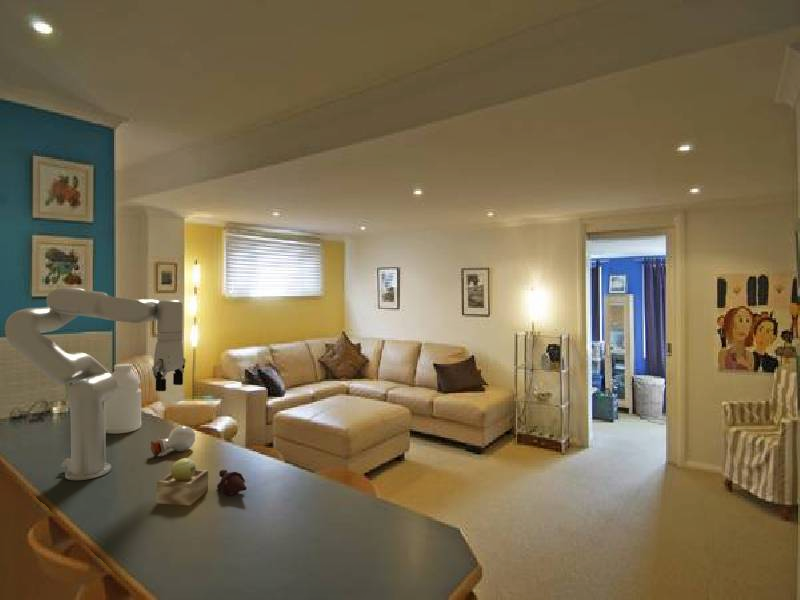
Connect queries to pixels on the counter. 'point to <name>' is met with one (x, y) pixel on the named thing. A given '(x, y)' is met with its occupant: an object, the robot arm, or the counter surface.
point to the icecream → (231, 483)
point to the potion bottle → (174, 441)
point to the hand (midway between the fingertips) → (169, 387)
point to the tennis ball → (183, 470)
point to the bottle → (124, 402)
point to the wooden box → (182, 489)
